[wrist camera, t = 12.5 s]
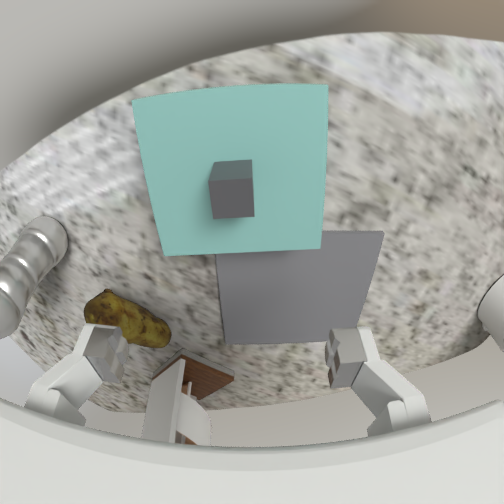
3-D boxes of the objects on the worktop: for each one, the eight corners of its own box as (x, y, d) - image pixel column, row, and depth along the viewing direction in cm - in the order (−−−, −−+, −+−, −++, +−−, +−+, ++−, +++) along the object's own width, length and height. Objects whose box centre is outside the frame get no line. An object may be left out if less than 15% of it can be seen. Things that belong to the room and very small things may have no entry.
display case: (200, 391, 57) (188, 554, 28) (153, 372, 52) (127, 546, 24) (234, 371, 51) (230, 562, 23) (182, 348, 47) (158, 559, 19)
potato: (137, 335, 46) (125, 376, 39) (89, 279, 39) (68, 320, 32) (180, 327, 44) (171, 371, 38) (133, 264, 37) (113, 309, 30)
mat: (382, 230, 34) (384, 233, 34) (350, 336, 46) (351, 339, 46) (213, 232, 34) (213, 234, 34) (225, 341, 46) (225, 344, 46)
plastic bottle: (70, 258, 36) (3, 378, 20) (32, 238, 34) (-43, 347, 18) (76, 222, 33) (-8, 349, 17) (36, 201, 31) (-58, 313, 15)
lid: (325, 84, 20) (343, 90, 16) (318, 244, 29) (328, 276, 25) (135, 99, 21) (110, 109, 17) (166, 251, 29) (154, 283, 26)
